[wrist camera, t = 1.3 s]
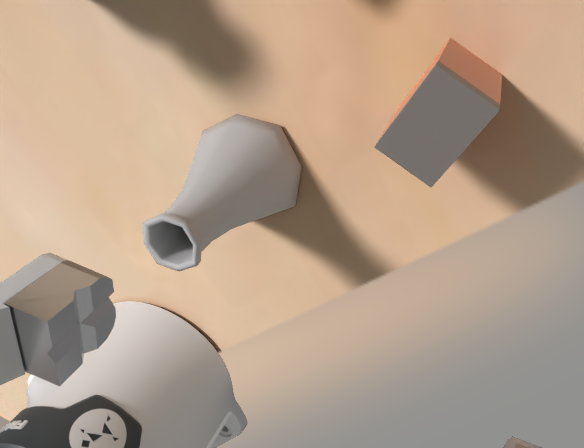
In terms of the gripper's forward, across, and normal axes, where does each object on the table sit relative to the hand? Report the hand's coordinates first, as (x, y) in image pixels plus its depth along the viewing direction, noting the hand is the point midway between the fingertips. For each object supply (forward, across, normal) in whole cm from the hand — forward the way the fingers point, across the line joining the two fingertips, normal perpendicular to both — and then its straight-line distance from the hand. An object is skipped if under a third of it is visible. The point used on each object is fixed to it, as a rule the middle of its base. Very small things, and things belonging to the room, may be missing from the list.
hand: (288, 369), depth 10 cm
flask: (+21, +10, +8) cm, 25 cm away
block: (+22, 0, +1) cm, 22 cm away
